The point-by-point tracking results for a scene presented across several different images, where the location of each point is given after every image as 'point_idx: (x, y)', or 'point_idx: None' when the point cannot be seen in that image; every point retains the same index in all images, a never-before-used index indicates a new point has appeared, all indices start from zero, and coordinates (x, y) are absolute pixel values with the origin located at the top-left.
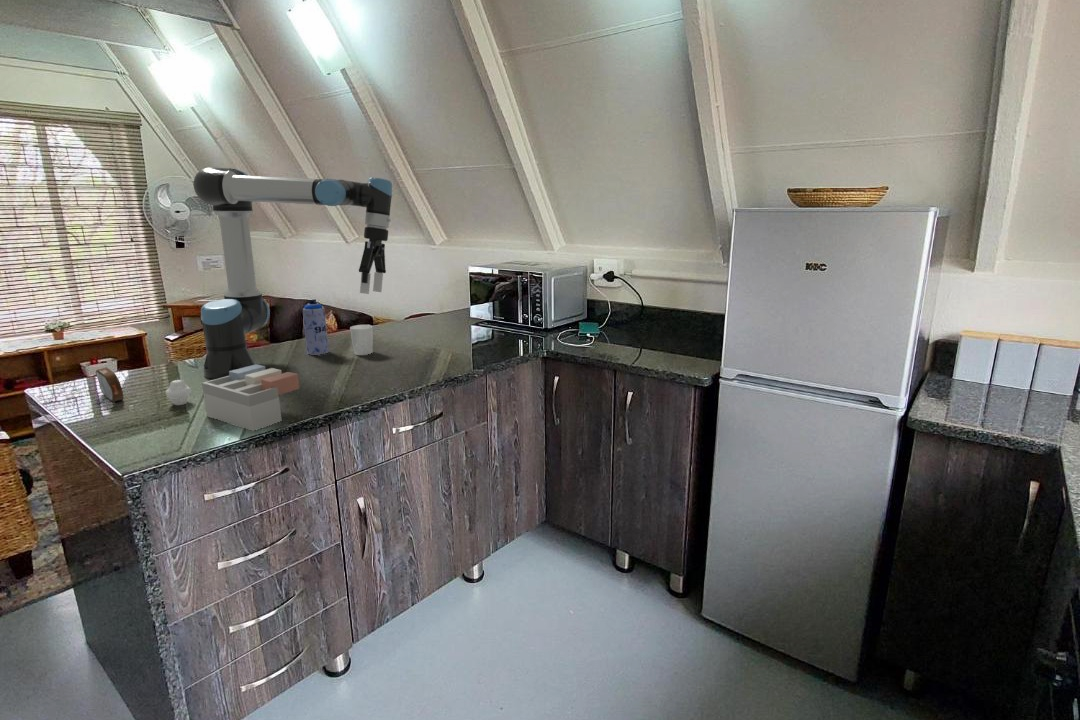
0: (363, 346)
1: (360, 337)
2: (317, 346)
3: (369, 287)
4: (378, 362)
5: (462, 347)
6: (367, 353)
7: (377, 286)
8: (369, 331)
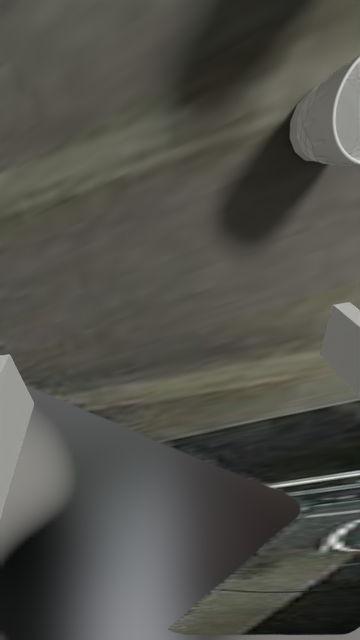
0: (301, 140)
1: (315, 126)
2: None
3: (18, 448)
4: (205, 227)
5: None
6: (296, 153)
7: (351, 358)
8: (344, 161)
